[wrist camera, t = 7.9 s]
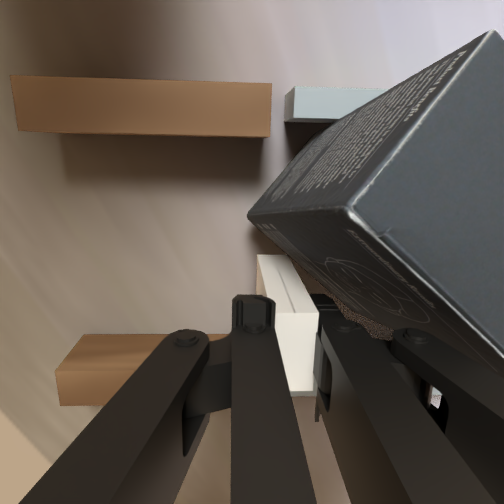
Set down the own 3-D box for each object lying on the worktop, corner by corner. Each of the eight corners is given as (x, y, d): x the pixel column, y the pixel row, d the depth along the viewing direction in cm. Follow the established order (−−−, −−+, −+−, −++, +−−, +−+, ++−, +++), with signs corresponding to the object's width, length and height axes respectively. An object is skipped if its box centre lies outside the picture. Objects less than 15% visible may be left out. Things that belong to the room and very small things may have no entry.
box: (412, 230, 20) (672, 244, 10) (350, 311, 20) (552, 414, 9) (313, 129, 18) (504, 14, 8) (241, 215, 18) (344, 212, 7)
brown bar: (53, 88, 17) (9, 75, 14) (264, 94, 18) (271, 83, 14) (87, 364, 21) (60, 405, 18) (256, 363, 22) (260, 403, 19)
